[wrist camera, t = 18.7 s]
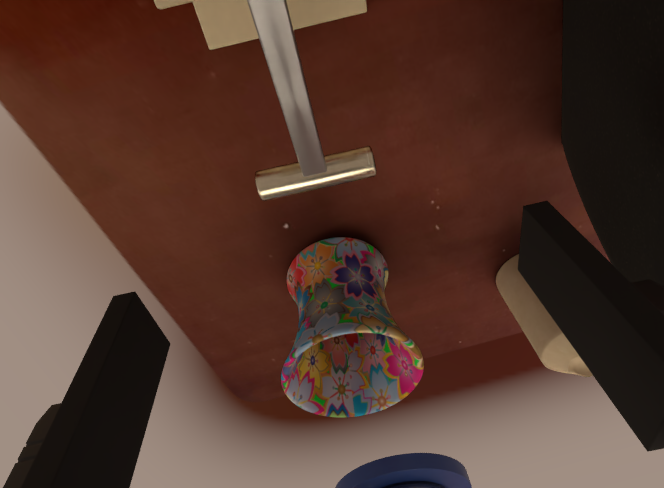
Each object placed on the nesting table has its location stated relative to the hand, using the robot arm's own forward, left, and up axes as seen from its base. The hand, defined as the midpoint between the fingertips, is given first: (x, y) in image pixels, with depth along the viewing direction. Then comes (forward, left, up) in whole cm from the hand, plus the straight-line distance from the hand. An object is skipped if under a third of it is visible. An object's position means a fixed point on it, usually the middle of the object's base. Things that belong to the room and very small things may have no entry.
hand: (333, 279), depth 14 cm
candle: (+10, -22, -16) cm, 29 cm away
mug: (-5, -14, -16) cm, 22 cm away
